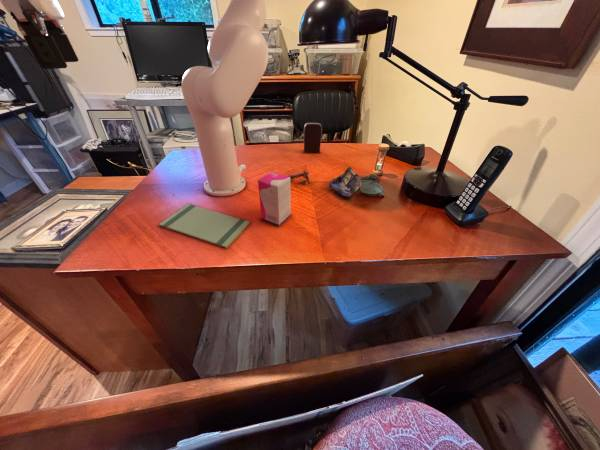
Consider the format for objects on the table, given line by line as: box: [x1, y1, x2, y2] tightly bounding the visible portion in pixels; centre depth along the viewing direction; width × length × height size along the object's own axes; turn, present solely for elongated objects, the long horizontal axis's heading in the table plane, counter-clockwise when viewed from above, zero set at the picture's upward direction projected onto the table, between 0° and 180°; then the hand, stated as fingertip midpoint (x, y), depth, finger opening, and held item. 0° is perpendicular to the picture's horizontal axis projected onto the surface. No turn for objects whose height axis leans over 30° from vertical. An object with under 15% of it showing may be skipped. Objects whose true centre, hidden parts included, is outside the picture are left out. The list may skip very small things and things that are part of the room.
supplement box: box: [257, 171, 292, 227], centre depth 60 cm, size 6×6×12 cm
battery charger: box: [303, 121, 323, 154], centre depth 95 cm, size 7×4×11 cm, turn 91°
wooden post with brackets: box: [286, 170, 311, 185], centre depth 77 cm, size 2×8×4 cm, turn 66°
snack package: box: [328, 166, 363, 200], centre depth 74 cm, size 12×6×12 cm
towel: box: [158, 203, 251, 249], centre depth 60 cm, size 10×20×1 cm, turn 68°
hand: (62, 64), depth 41 cm, fingers open, 9 cm apart
